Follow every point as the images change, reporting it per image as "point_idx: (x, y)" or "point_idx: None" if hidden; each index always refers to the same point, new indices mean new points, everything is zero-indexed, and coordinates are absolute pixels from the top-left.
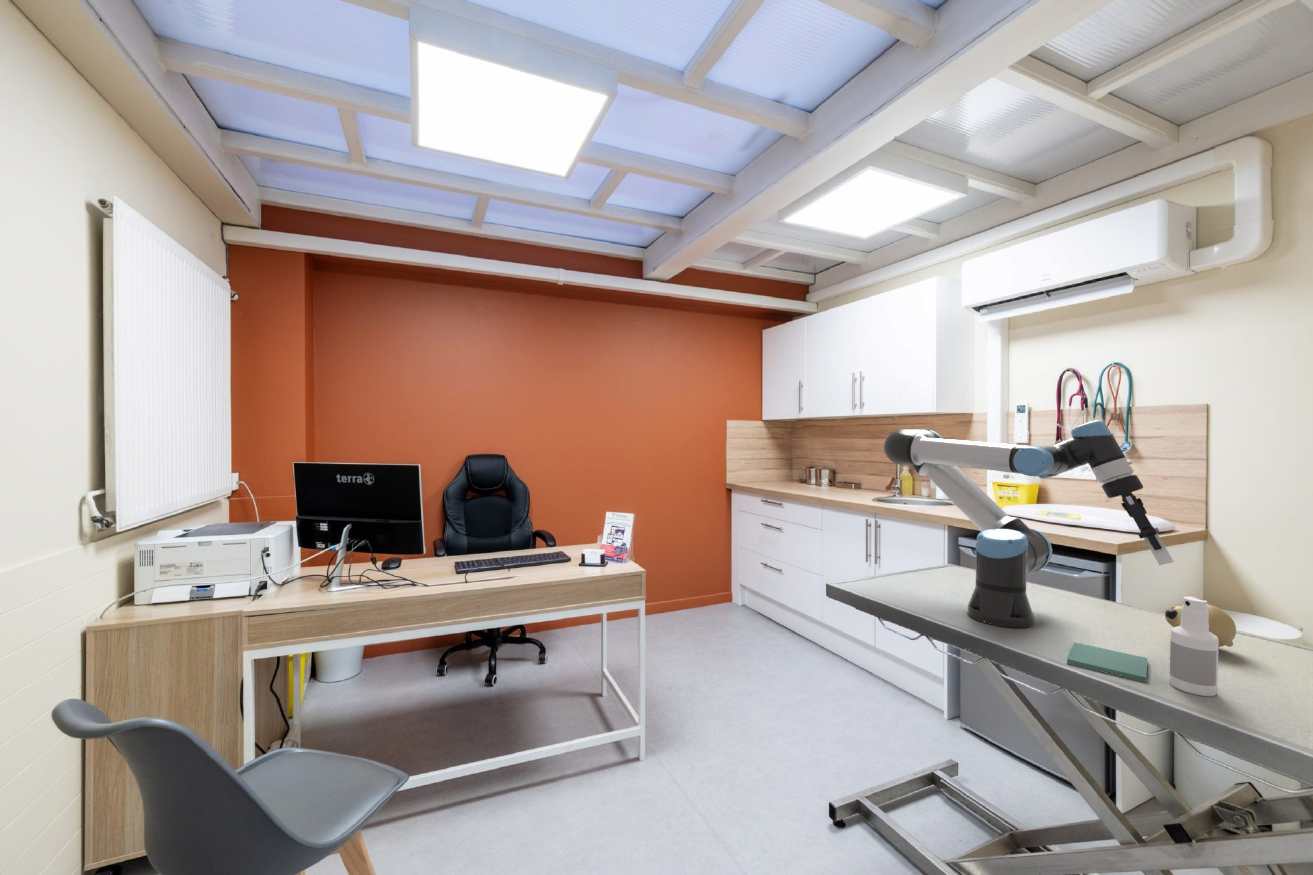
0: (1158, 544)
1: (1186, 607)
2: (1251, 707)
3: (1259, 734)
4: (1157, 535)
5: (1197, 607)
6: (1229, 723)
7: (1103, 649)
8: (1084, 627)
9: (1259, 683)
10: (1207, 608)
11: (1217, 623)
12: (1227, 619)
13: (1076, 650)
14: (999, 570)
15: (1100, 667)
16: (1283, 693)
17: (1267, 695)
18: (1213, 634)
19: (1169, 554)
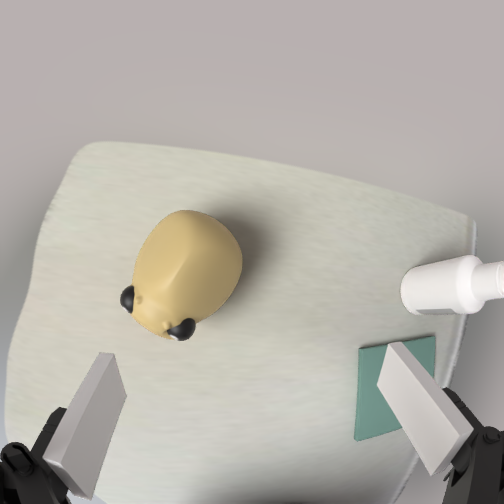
0: (459, 403)
1: None
2: (424, 238)
3: (471, 241)
4: (469, 428)
5: None
6: None
7: (365, 404)
8: (221, 453)
9: (335, 215)
10: (210, 255)
11: (235, 242)
12: (214, 221)
13: (392, 425)
14: None
15: None
16: (353, 195)
17: (376, 214)
18: (473, 259)
19: (416, 361)
